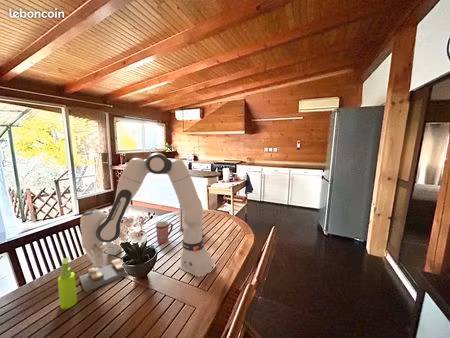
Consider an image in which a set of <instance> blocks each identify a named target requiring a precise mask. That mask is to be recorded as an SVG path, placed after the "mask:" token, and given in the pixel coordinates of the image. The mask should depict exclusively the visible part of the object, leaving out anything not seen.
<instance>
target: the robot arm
mask: <svg viewBox="0 0 450 338" xmlns="http://www.w3.org/2000/svg"><path fill="white" fill-rule="evenodd" d="M150 173H151V174H153V175H154V174H155V175H163V174H167V176H168V178H169V180H170V182H171V185H172V187H173V189H174V192H175V194H176V197H177V200H178V203H179V208H180V207H181V209H182V212H183V230H182V234H183V236H182V237H183V238H182V242H181V243H182V245H181V246H182V250H181V254H180V262H179V264H178V269H180V270H183V271H184V272H186V273H188V272H189V273H188V274H190V273H191V274H190V275H192V274H193V275H192V276H194V275H195V276H194V277H196V276H197V277H196V278H201V277H200V276H202V277H204V276H203V275H205V276H207V275H208V274H207V273H209V272H210V271H212V270H213V269H214V268H215V266H216V263H214V262H213V261H212V260H213V259H212V255H211V252H210V251H208V250H207V249H206V246H205V244H206V243H205V242H204V239H203V220H202V219H203V215H204V207H203V204H202V201H201V199H200V198H199V195H198V192H197V190H196V186H195V185H194V181H193V179H192V177H191V174H190V172H189V169H188V168H187V165H186V164H185V163H184V161H183V160H182V159H180V158H173V159H169V158H168V157H167V156H166V155H164V154H163V153H161V152H153V153H151V154H149V155H148V157H146V158H145V159H143V158H139V157H133V158H131V159H130V160H129V161H128V163H127V164H126V165H125V167H124V169H123V171H122V173H121V175H120V176H119V180H118V182H117V188H116V192H115V199H114V202H113V204H112V207H111V208H110V210H109V212H104V211H102V210H100V209H96V208H95V209H90V210H88V211H85V212H84V213H83V214H82V215H81V216H80V220H79V223H80V224H79V226H80V232H81V243H82V244H81V245H82V248H83V249H84V252H85V253H86V255H87V257H88V258H89V260H90V261H91V262H90V263H91V266H92V268H93V267H94V268H97V267H98V268H99V267H100V266H103V265H104V263H105V262H104V254H103V250H102V248H101V246H102V245H103V244H104V243H106V244H107V243H108V242H112V241H114V240H116V239H117V238H118V237H119V235H120V232H121V228H120V223H121V220H122V221H123V217H124V215H125V213H126V211H127V208H128V206H129V205H130V204H131V202H132V201H133V198H134V197H135V196H136V194H137V193H138V191H139V190H140V188H141V186H142V184H143V182H144V180H145V178H146V176H147V175H148V174H150ZM106 213H107V214H106ZM108 213H109V215H108ZM107 216H108V217H107ZM212 267H214V268H212ZM216 267H217V266H216ZM215 269H216V268H215ZM215 269H214V270H215ZM214 270H213V271H214ZM213 271H212V272H213ZM206 274H207V275H206ZM209 274H210V273H209Z"/></svg>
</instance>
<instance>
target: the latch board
mask: <svg viewBox="0 0 450 338" xmlns="http://www.w3.org/2000/svg"><path fill="white" fill-rule="evenodd" d="M120 260H121V261H122V260H123V259H120ZM99 270H100V272H101V273H102V275H104V278H102V279H99V280H97V281H94V282H93V279H92V277H91V275H90V273H89V271H88V272H87V273H85V274H84V273H83V274H82V275H79V282H80V284H81V286H82V288H83V291H84V293H88V292H90V291H92V290H94V289H97V288H99V287H102V286H104V285H105V284H109V283H111V282H112V281H115V280H117V279H119V278H122V277H124V276H126V275H128V274H127V273H126V272H125V270H124V269H123V270H121V271H118V272H117V269H116V268H115V267H114V265H113V264H112V263H110V264H108V265H105V266H103V267H100V268H99Z"/></svg>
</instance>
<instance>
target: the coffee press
mask: <svg viewBox="0 0 450 338" xmlns="http://www.w3.org/2000/svg"><path fill="white" fill-rule="evenodd" d="M179 227H180V228H179V230H178V231H179V232H183V212H182V209H181V207H180V206H179Z"/></svg>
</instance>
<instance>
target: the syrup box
mask: <svg viewBox="0 0 450 338" xmlns="http://www.w3.org/2000/svg"><path fill="white" fill-rule="evenodd" d="M106 245H107V246H106V247H107V248H106V249H107V255H112V256H116V255H118V254H119V253H120V252H122V250H123V249H122V246H121V247H120V246H119V245H117V244H113V243H111V242H108V243H106Z"/></svg>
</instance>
